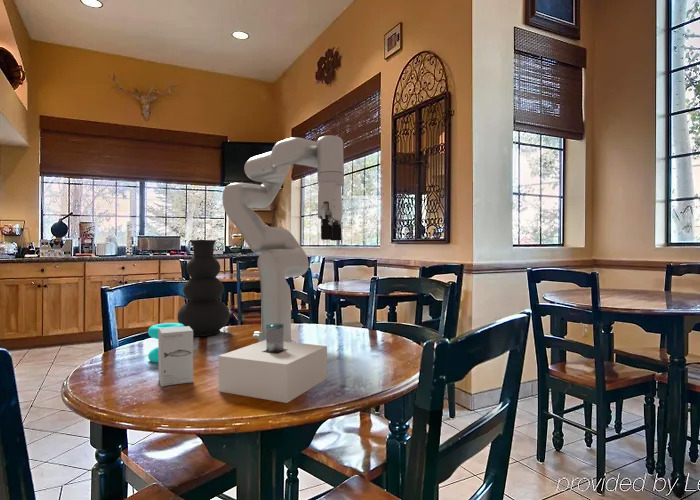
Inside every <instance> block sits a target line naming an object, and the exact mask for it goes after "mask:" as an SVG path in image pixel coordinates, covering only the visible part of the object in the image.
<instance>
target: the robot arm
mask: <svg viewBox="0 0 700 500" xmlns="http://www.w3.org/2000/svg"><path fill="white" fill-rule="evenodd" d="M293 164H294V165H299V166H306V167H309V168H310V167H311V168H317V170H316V171H317V186H318V191H317V193H318V194H317V218H318V219H319V220H320V240H321V241H341V240H342V236H343V235H342V219H343V217H342V216H343V200H342V199H343V197H342V187H344V185H345V175H344V174H345V173H344V172H345V171H344V168H345V167H344V139H342V137H340V136H337V135H324V136H323V135H322V136H320V137H319V138H318V139H317V141H314V140H311V139H307V138H303V137H289V138H285V139H283V140H280V141H277V142H276V143H274V146H273V147H272V150H271V151H267V152H264V153H262V154H258V155H254V156H252V157H250V158H249V159H248V160H247V161H246V162H245V164H244V166H243V167H244V168H243V169H244V173H245V175H246V176H247V177H248V179H250V180H252V181H254V182H259V183H261V184H257V183H255V184H254V183H247V182H233V183H230V184H227V185H226V186H225V187H224V189H223V191H222V205H223V206H222V207H223V209H224V210H223V211H224V212H225V214H226V216H227V218H229V220H230V221H231V223H233V225H234V226H235V227H236V228H237V230H238V231H239V234H240V235H241V236H242V239H244V241H245V242H246V244H247V246H248V247H249V248H250V250H251V251H252V252H253V253H254V254H255V255H258V256H259V257H258V258H257V272H258V275H259V281H260V282H259V283H260V300H261V301H260V304H261V305H260V307H261V309H260V313H261V314H260V315H261V318H260V320H261V325H260V326H261V327H260V328H261V330H260V331H254V332H253V334H252V339H255V340H256V339H258V342H261V341H264V340H266V325H268V324H283V325H284V342H292V343H297V342H296V340H294V339H292V297H291V296H292V295H291V288H290V285H289V284H288V281H287V278H296V277H301V276H303V275H305V274H306V273H307V271H308V269H309V264H310V263H309V258H308V256H307V254H306V252H305V250H304V249H303V248H302V246H301V245H300V243H299V242H298V241H297V239H296V238H295V237H294V235H293V233H291V231H289V230H288V229H286V228H284V227H279V226H277V227H276V226H269V225H267V224H266V223H265V222H264V221H263V219H261V217H260V215H259V214H257V212H255V211H254V210H252V209H267V208H269V206H271V204H272V203H273V201H274V199H276V197H277V194H278V193H279V191H280V190H281V188H282V186H283V184H284V182H285V180H286V177H287V175H288V174H289V172H290V170H291V165H293Z"/></svg>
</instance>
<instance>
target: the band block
mask: <svg viewBox="0 0 700 500" xmlns="http://www.w3.org/2000/svg"><path fill="white" fill-rule="evenodd" d="M217 358H218V392H220V393H226V394H231V395H232V394H233V395H237V396H243V397H250V398H255V399H262V400H267V401H273V402H278V403H279V402H280V403H285V404H287V403H289V402H292V401H293V400H294V399H296V398H298V397H299V396H301V395H303V394H304V393H306V392H307V391H309V390H311V389H313V388H315V386H317V385H319V384H320V383H322V382H324V381H326V380H328V345H321V344H310V343H301V342H300V343H299V342H296V343H292V342H284V352H281V353H279V354H274V353H266V340H264V341H261V342H259V341H258V342H256V343H252V344H250V345H246V346H244V347H240V348H238V349H235V350H232V351H229V352H226V353H223V354H219V355H218V357H217Z"/></svg>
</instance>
